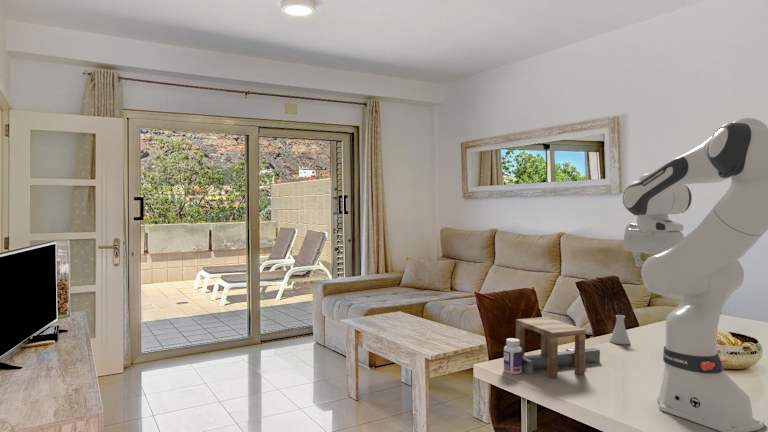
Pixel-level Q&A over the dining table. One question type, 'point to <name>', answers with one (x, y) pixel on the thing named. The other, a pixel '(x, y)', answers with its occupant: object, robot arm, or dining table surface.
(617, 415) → the dining table surface
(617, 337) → the flask
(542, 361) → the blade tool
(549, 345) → the low table
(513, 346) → the pill bottle
